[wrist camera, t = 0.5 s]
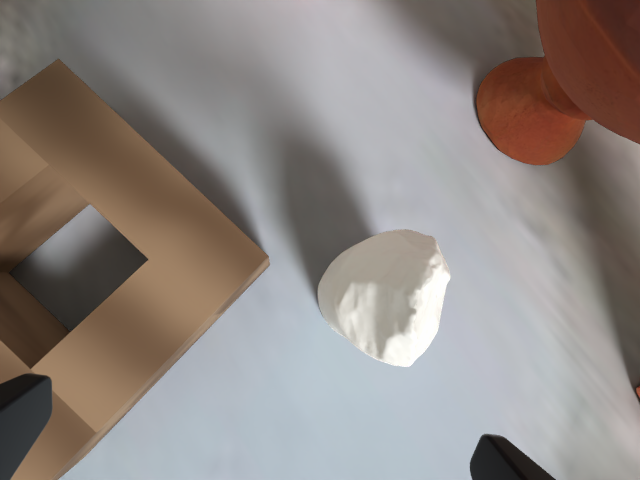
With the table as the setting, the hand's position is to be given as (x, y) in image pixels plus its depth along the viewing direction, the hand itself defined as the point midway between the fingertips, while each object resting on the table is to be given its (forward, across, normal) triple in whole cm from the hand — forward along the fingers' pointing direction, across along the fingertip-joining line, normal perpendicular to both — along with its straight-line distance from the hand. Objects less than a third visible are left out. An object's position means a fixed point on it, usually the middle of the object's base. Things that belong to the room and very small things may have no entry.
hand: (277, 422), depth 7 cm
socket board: (+14, +12, +5) cm, 19 cm away
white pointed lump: (+15, -5, +4) cm, 16 cm away
